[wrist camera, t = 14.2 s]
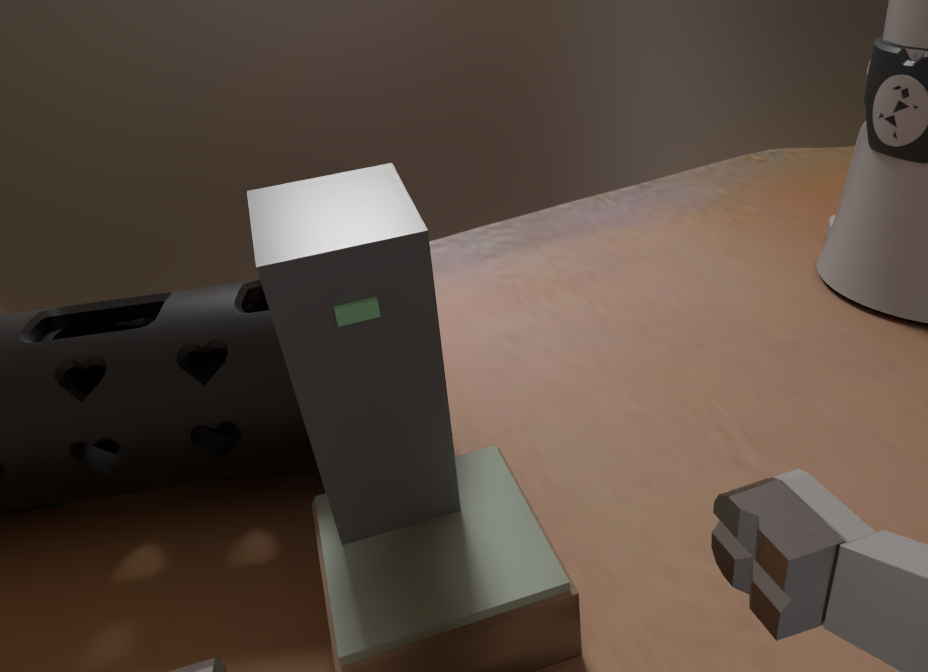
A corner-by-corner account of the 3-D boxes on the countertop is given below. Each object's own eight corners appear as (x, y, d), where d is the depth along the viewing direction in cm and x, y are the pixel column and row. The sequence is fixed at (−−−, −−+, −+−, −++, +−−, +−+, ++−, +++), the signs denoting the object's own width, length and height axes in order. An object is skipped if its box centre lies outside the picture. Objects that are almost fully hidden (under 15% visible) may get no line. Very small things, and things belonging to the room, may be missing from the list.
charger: (427, 418, 30) (388, 155, 22) (462, 513, 26) (429, 233, 18) (323, 446, 29) (245, 183, 21) (342, 548, 25) (256, 270, 17)
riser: (505, 503, 31) (498, 441, 29) (581, 653, 24) (578, 584, 22) (327, 556, 29) (308, 494, 28) (355, 732, 23) (332, 666, 21)
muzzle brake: (432, 518, 31) (393, 314, 26) (-191, 603, 31) (-354, 416, 26) (428, 396, 39) (397, 224, 34) (-64, 463, 39) (-168, 301, 34)
